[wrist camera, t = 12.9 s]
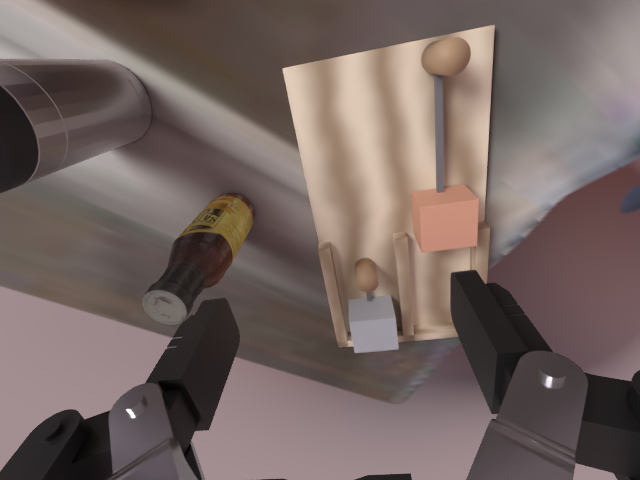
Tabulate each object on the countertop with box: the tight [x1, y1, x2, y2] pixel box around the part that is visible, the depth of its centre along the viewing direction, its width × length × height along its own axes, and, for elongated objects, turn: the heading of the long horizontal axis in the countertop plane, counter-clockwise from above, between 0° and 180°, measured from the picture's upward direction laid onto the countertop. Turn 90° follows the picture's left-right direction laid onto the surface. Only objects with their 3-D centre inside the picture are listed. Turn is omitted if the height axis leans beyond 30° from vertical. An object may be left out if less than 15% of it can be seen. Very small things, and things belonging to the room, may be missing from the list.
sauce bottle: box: [142, 193, 255, 325], centre depth 37 cm, size 6×6×20 cm
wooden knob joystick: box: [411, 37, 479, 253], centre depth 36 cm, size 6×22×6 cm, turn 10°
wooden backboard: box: [282, 25, 495, 348], centre depth 44 cm, size 22×40×3 cm, turn 10°
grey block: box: [348, 258, 399, 353], centre depth 48 cm, size 6×13×5 cm, turn 10°
